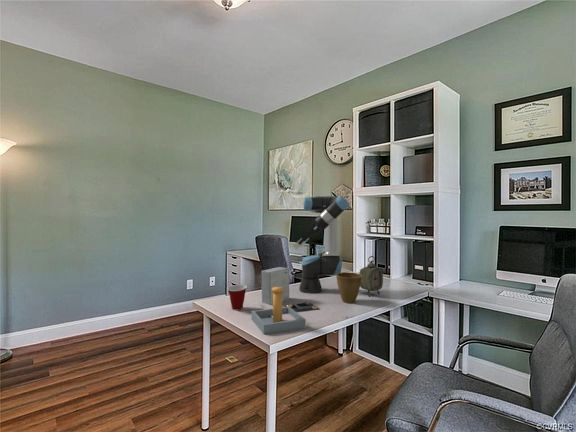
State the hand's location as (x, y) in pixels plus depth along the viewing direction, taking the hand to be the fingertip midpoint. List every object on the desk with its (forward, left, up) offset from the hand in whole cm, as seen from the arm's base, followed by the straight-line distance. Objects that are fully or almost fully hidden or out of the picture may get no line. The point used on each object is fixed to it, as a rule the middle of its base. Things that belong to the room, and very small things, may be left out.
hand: (297, 246), depth 169 cm
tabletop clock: (-56, -8, -34) cm, 66 cm away
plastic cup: (+31, -11, -34) cm, 48 cm away
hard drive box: (+8, -12, -35) cm, 37 cm away
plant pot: (-34, 0, -34) cm, 48 cm away
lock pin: (+18, +18, -33) cm, 42 cm away
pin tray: (+18, +18, -34) cm, 43 cm away
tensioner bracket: (-1, +5, -34) cm, 35 cm away
